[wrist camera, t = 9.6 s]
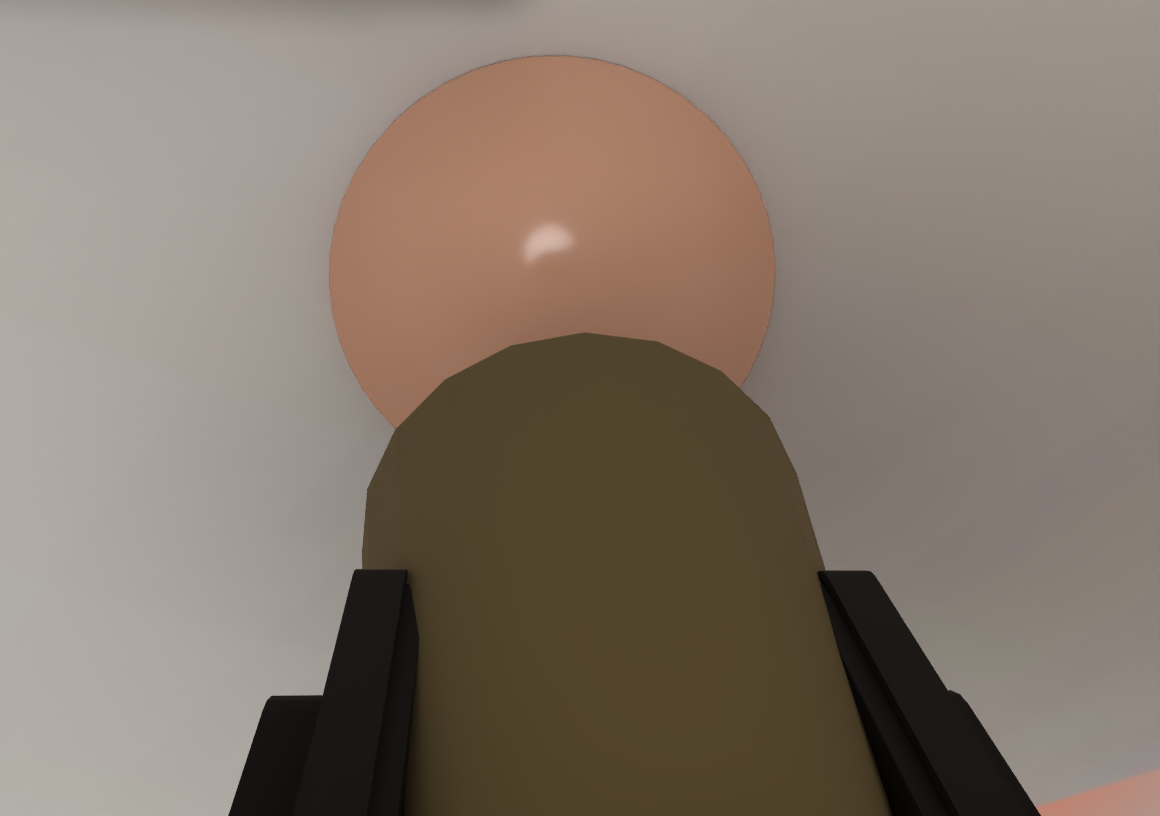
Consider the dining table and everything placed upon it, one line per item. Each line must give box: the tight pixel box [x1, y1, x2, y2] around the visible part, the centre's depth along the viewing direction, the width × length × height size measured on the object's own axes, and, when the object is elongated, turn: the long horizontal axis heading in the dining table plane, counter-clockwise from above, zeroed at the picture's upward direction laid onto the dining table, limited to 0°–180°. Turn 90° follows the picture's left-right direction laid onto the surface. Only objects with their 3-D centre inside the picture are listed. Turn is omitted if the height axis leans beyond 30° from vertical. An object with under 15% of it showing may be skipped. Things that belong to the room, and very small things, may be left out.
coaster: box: [329, 55, 775, 429], centre depth 25 cm, size 11×11×1 cm
